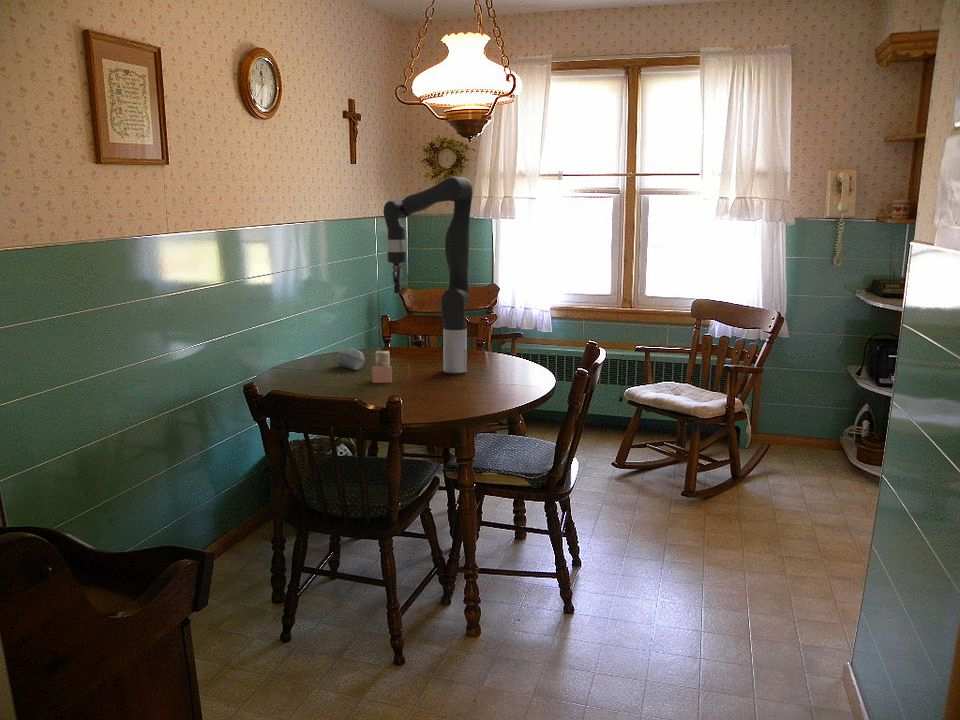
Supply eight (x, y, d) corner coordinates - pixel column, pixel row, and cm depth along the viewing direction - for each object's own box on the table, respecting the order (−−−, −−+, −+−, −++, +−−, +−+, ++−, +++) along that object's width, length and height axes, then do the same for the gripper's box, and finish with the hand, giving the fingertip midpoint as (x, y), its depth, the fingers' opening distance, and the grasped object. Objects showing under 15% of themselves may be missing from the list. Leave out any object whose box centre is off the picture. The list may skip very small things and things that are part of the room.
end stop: (391, 381, 288) (391, 366, 286) (391, 382, 286) (391, 366, 285) (372, 381, 287) (372, 366, 286) (372, 382, 286) (372, 366, 285)
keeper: (389, 378, 292) (389, 351, 290) (388, 380, 288) (388, 353, 286) (377, 378, 292) (376, 351, 290) (376, 380, 288) (375, 353, 286)
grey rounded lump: (327, 359, 311) (339, 338, 310) (345, 366, 318) (357, 345, 317) (342, 373, 301) (355, 351, 301) (360, 380, 308) (373, 359, 307)
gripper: (404, 251, 307) (405, 295, 311) (407, 249, 320) (407, 291, 324) (385, 251, 307) (386, 294, 311) (388, 249, 320) (389, 291, 324)
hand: (397, 293), depth 317 cm, fingers closed
